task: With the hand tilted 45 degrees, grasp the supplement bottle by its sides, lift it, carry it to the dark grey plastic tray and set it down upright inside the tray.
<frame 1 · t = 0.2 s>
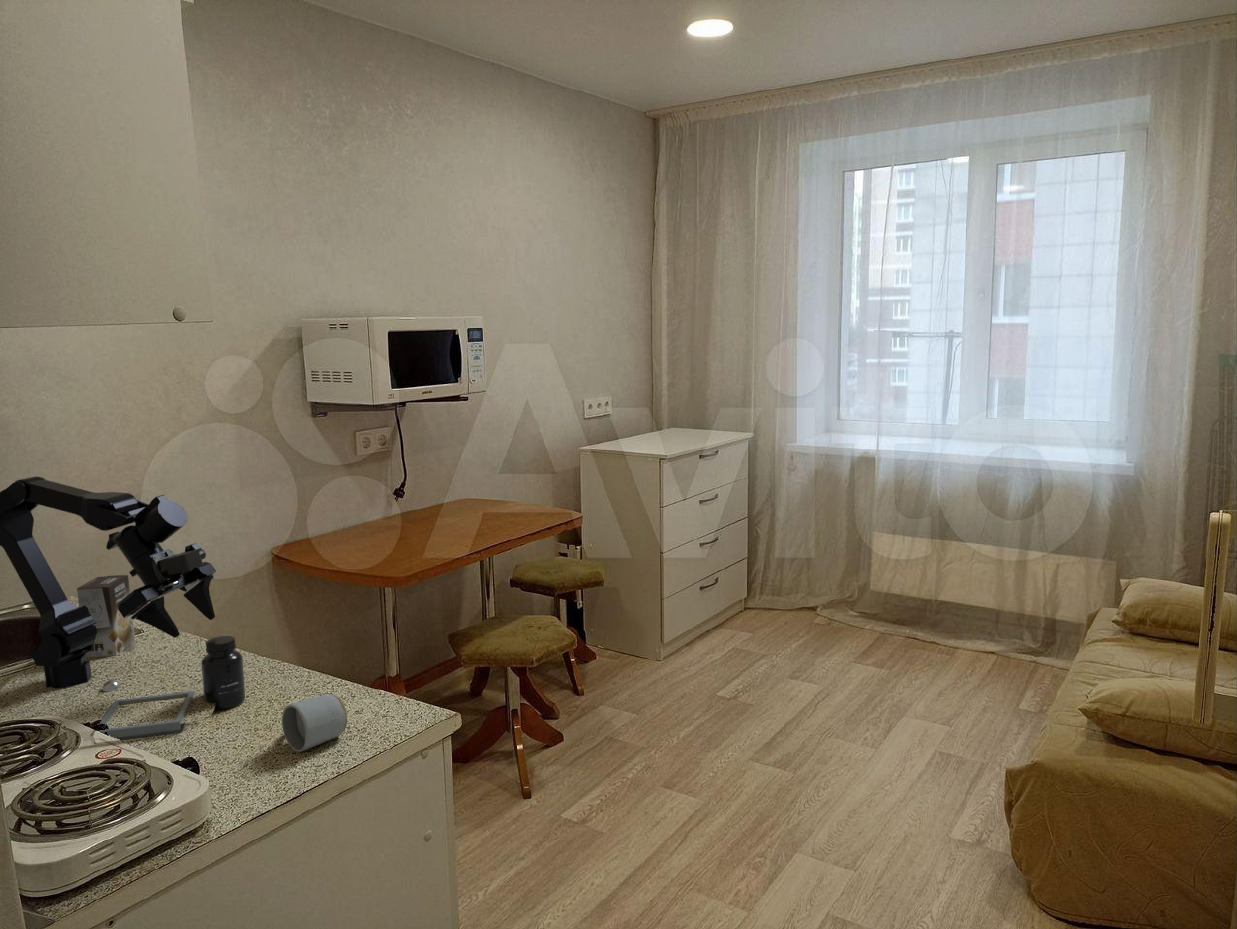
hand: (195, 627, 158), 14 cm above the worktop, tool tilted 35°, fingers open, 9 cm apart
ceramic mug: (311, 741, 145), on the worktop
coffee box: (111, 656, 184), on the worktop
tray: (147, 721, 153), on the worktop
mixing ball: (111, 688, 164), point 1 cm above the worktop
supplement bottle: (226, 704, 160), on the worktop
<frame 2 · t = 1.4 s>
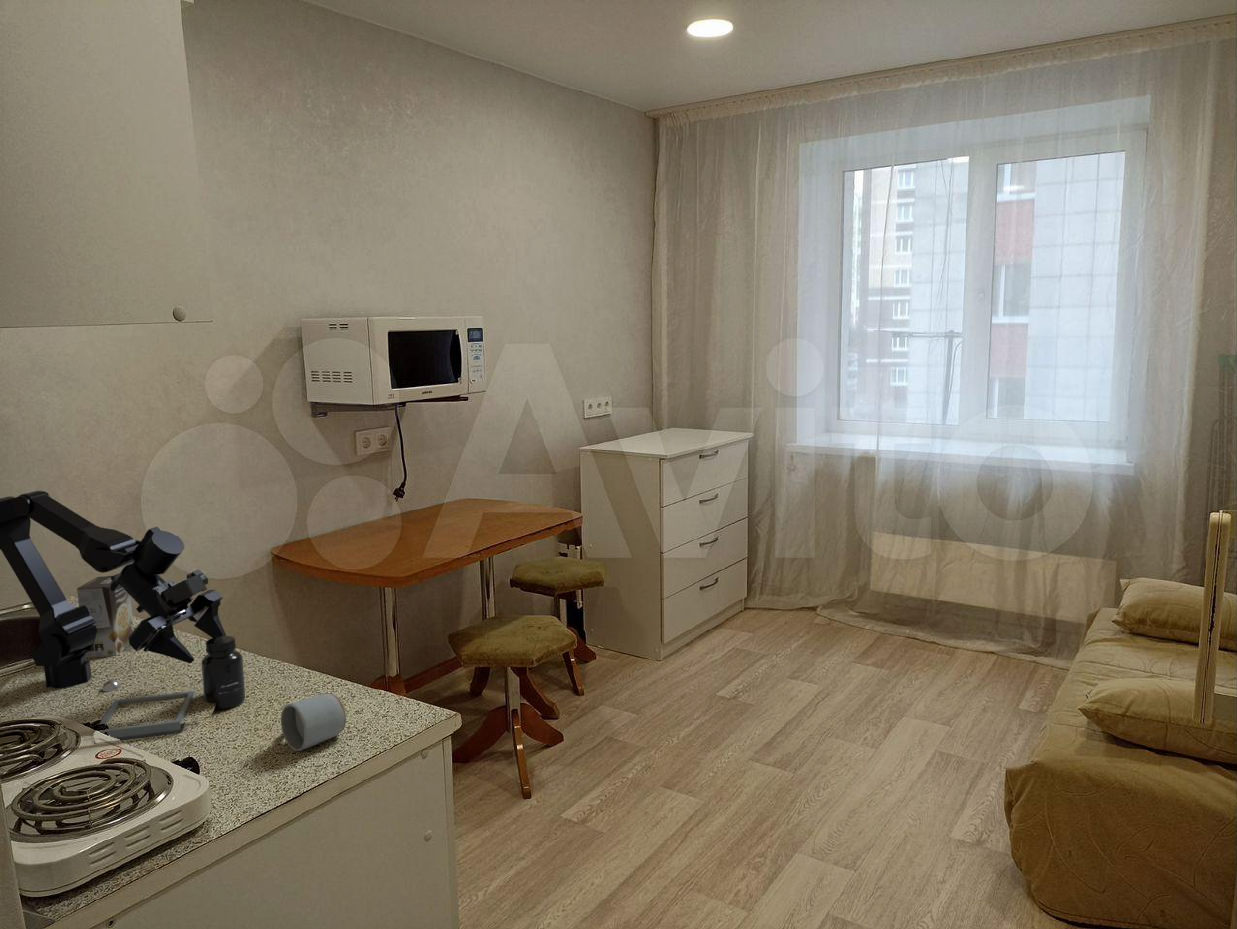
hand: (209, 651, 159), 10 cm above the worktop, tool tilted 45°, fingers open, 9 cm apart
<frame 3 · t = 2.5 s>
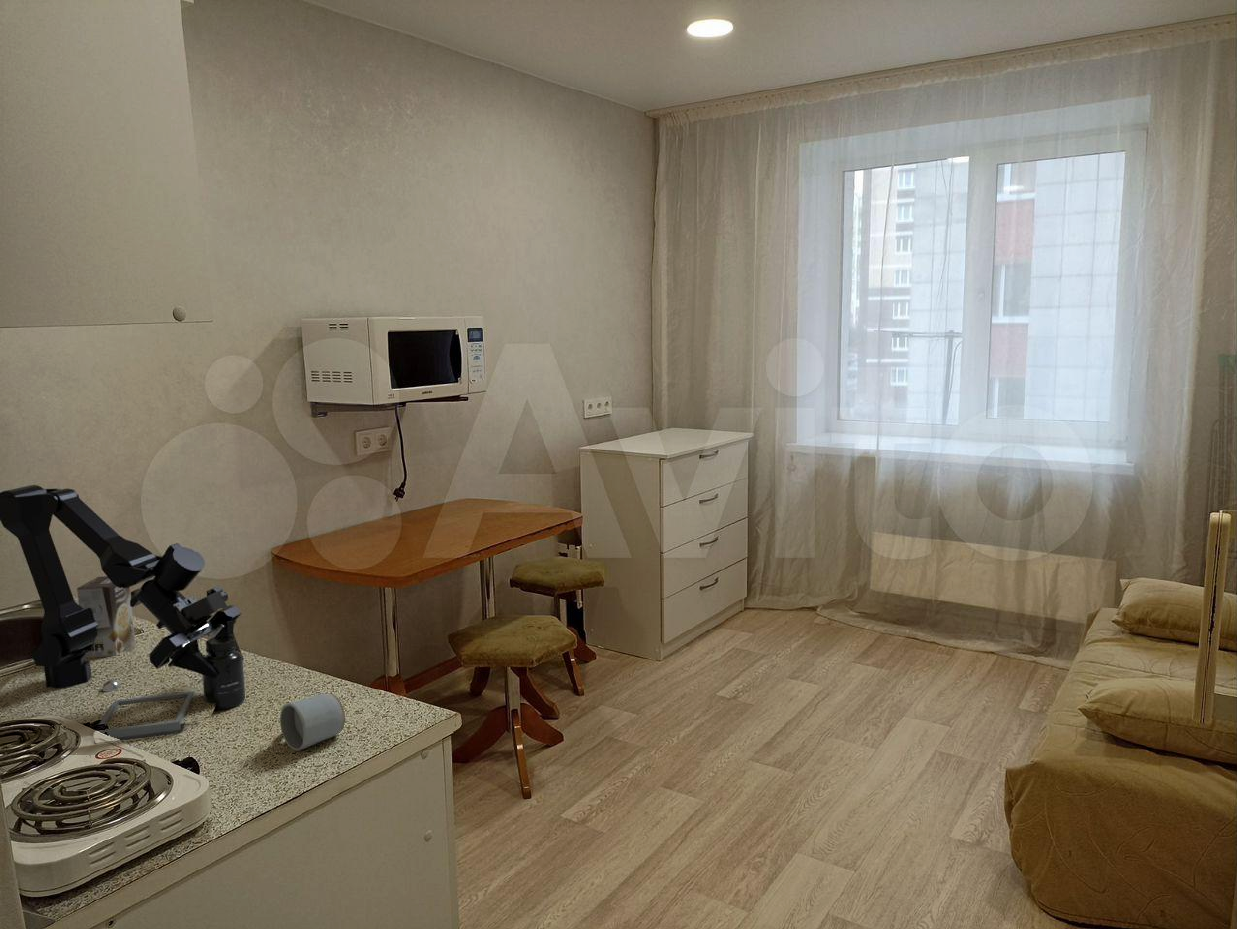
hand: (229, 668, 159), 7 cm above the worktop, tool tilted 45°, fingers closed on supplement bottle, 7 cm apart
supplement bottle: (226, 704, 160), on the worktop, touching gripper
everything else where it was.
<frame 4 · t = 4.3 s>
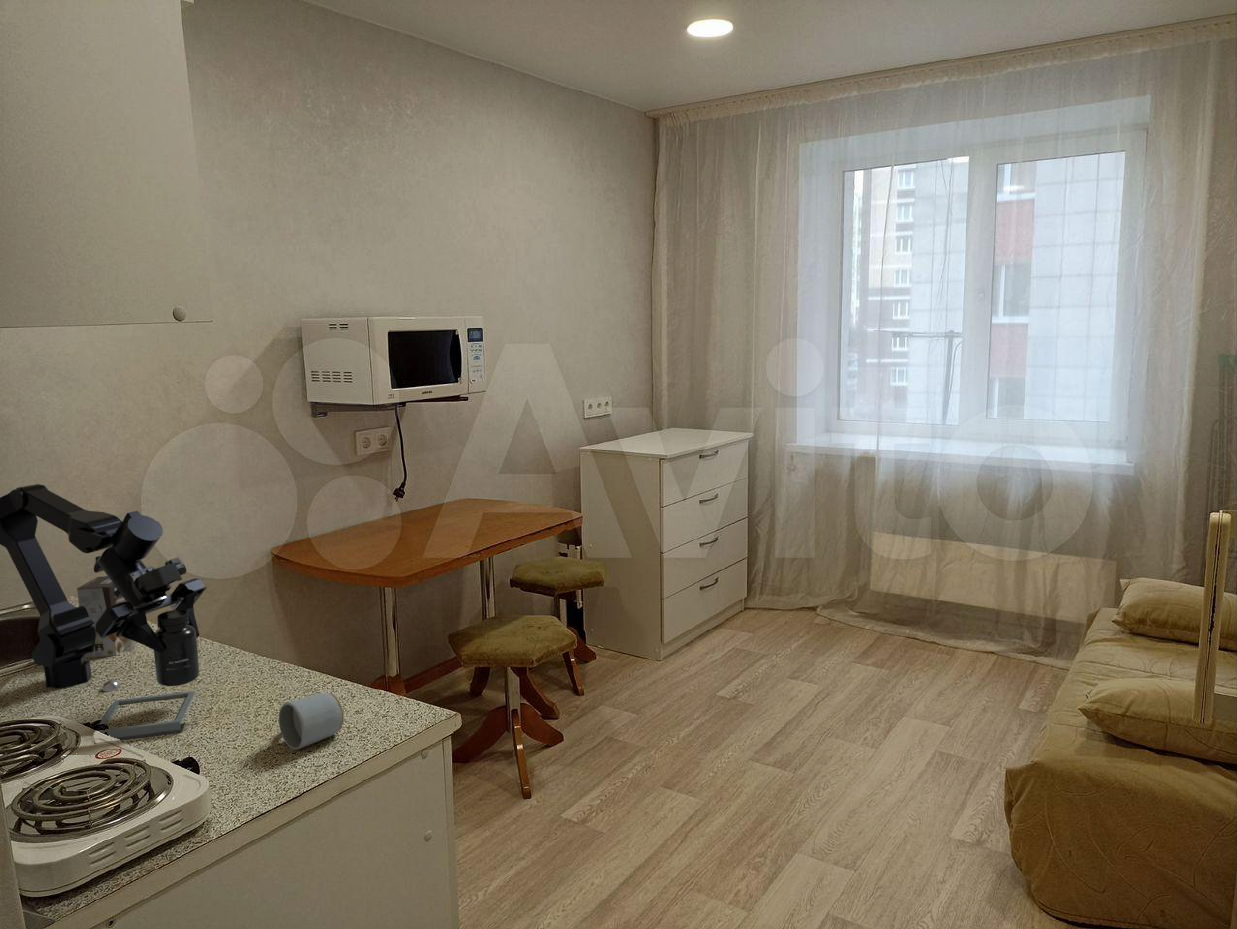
hand: (180, 644, 153), 13 cm above the worktop, tool tilted 45°, fingers closed on supplement bottle, 7 cm apart
supplement bottle: (179, 680, 155), point 6 cm above the worktop, touching gripper
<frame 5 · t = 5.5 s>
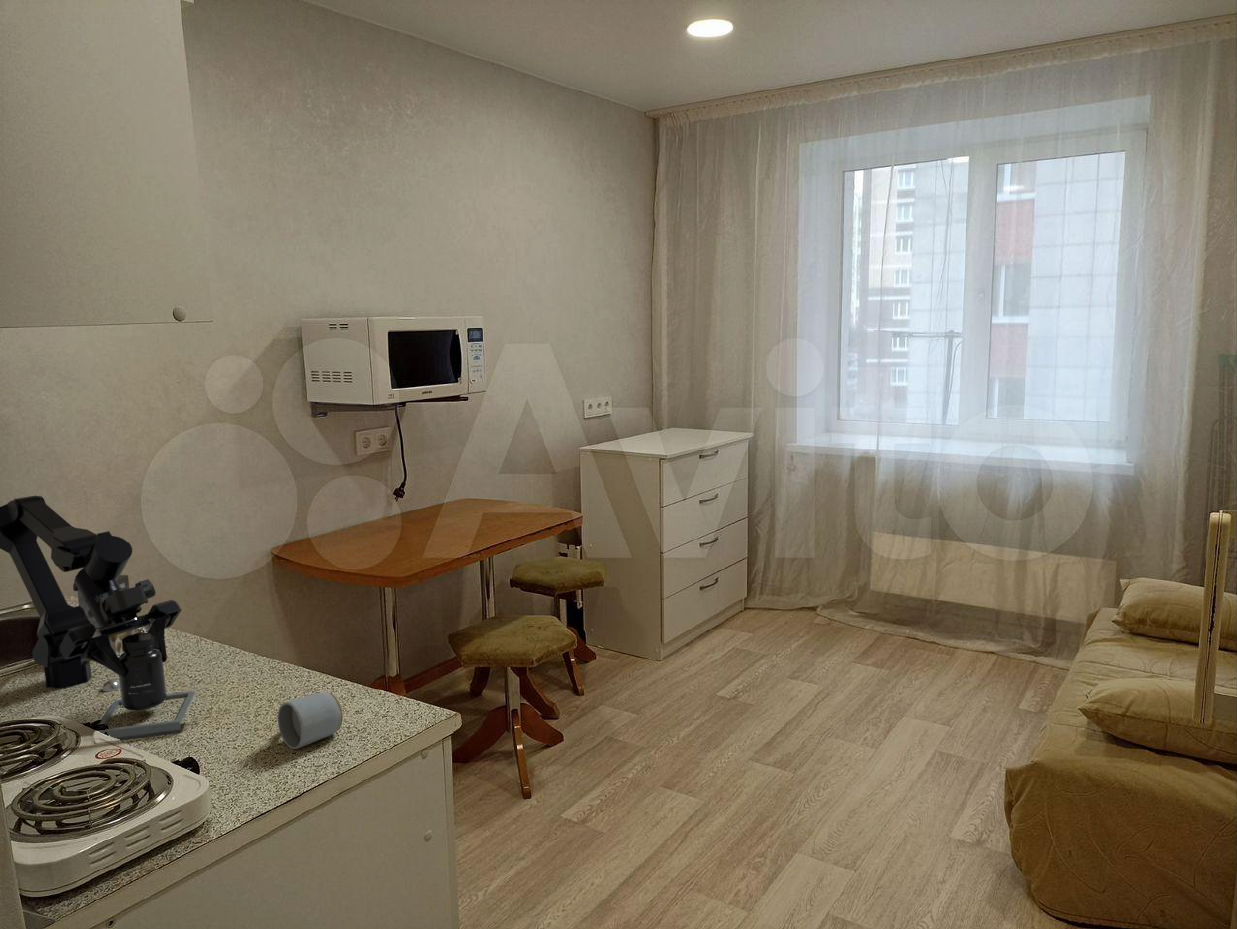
hand: (145, 668, 151), 10 cm above the worktop, tool tilted 45°, fingers closed on supplement bottle, 7 cm apart
supplement bottle: (145, 703, 153), point 3 cm above the worktop, touching gripper
when the fingers open (9 cm above the worktop, at t = 6.3 s): supplement bottle drops 1 cm, resting on tray.
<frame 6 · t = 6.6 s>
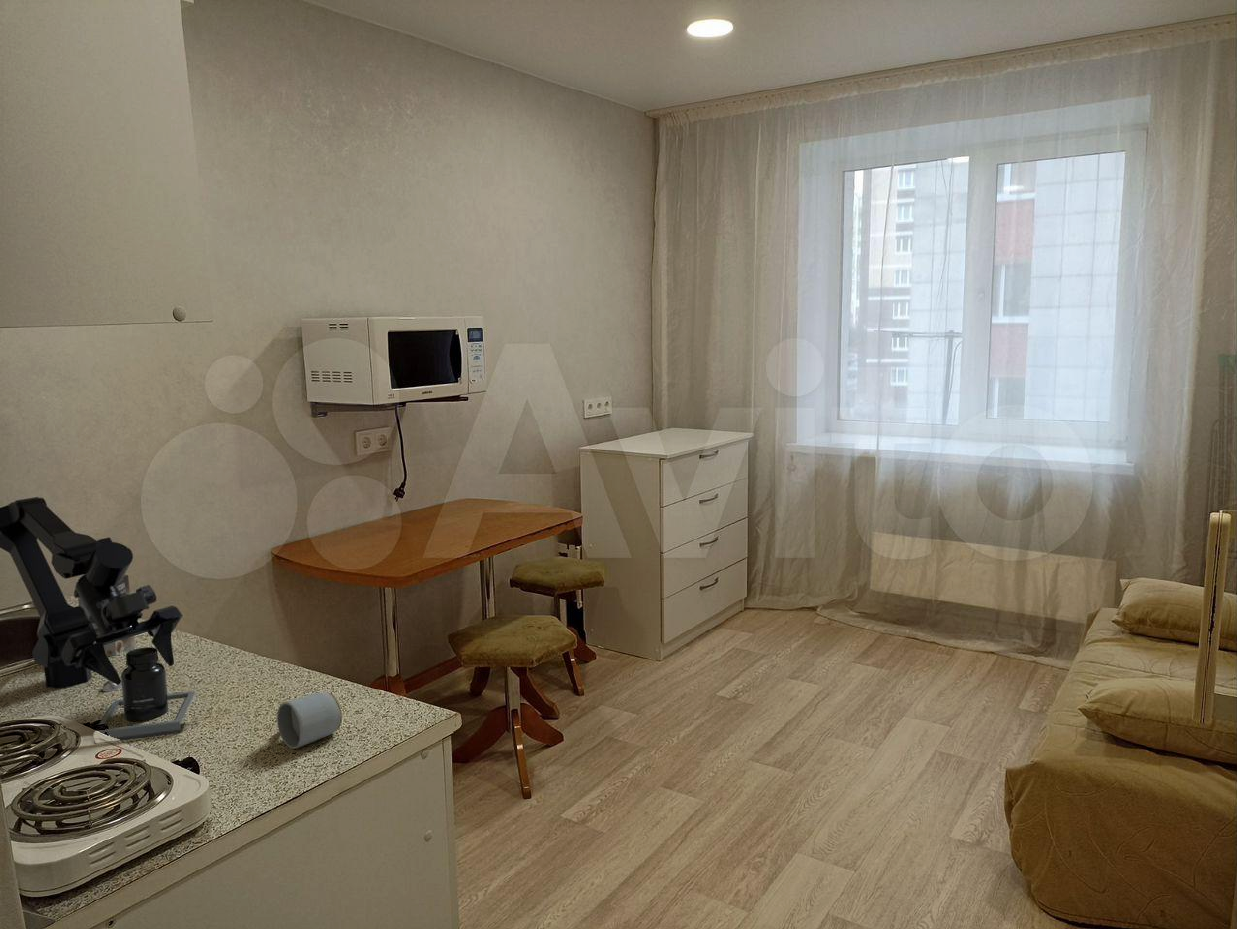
hand: (146, 673, 151), 9 cm above the worktop, tool tilted 45°, fingers open, 9 cm apart
supplement bottle: (147, 718, 153), resting on tray
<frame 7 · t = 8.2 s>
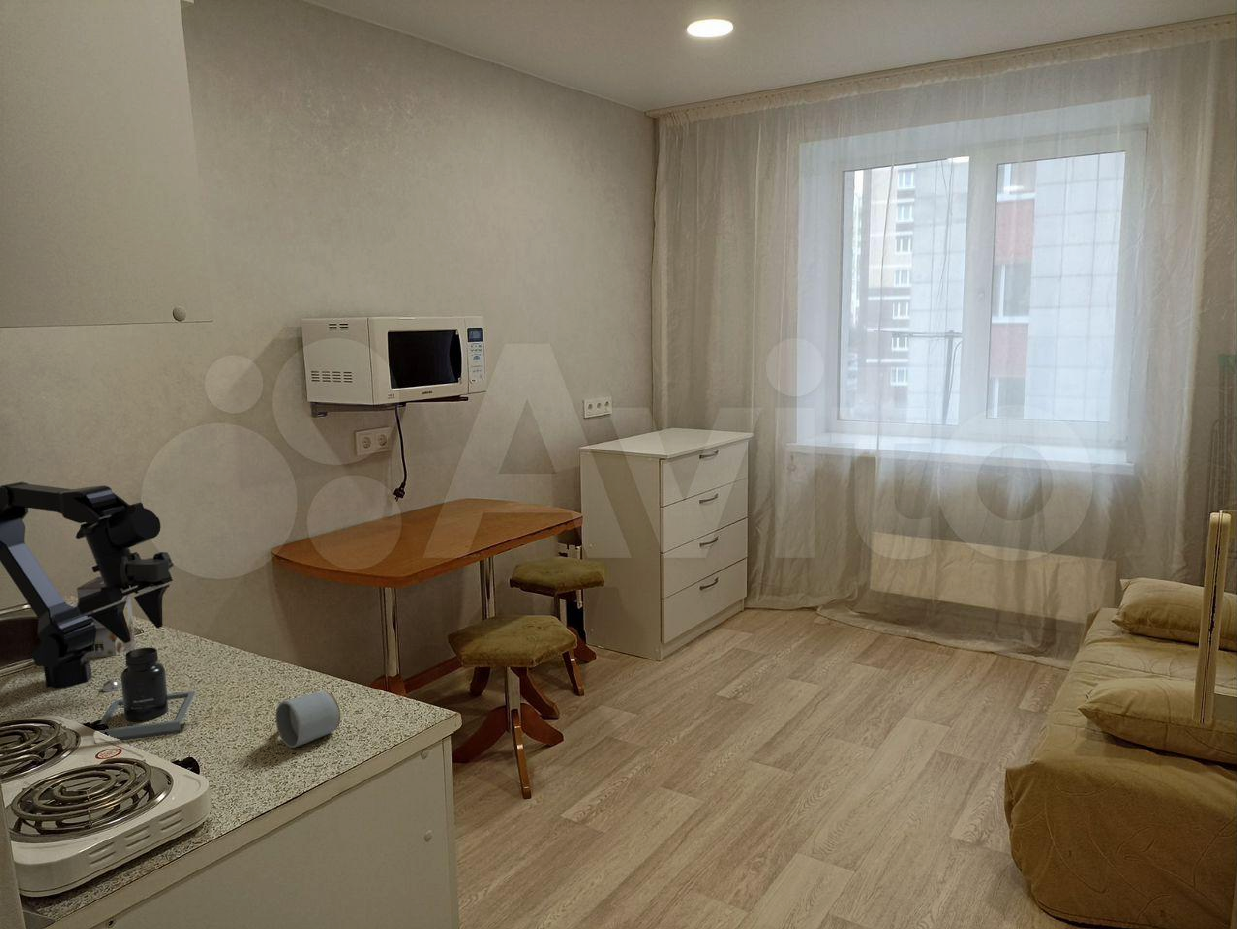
hand: (144, 634, 160), 13 cm above the worktop, tool tilted 20°, fingers open, 9 cm apart
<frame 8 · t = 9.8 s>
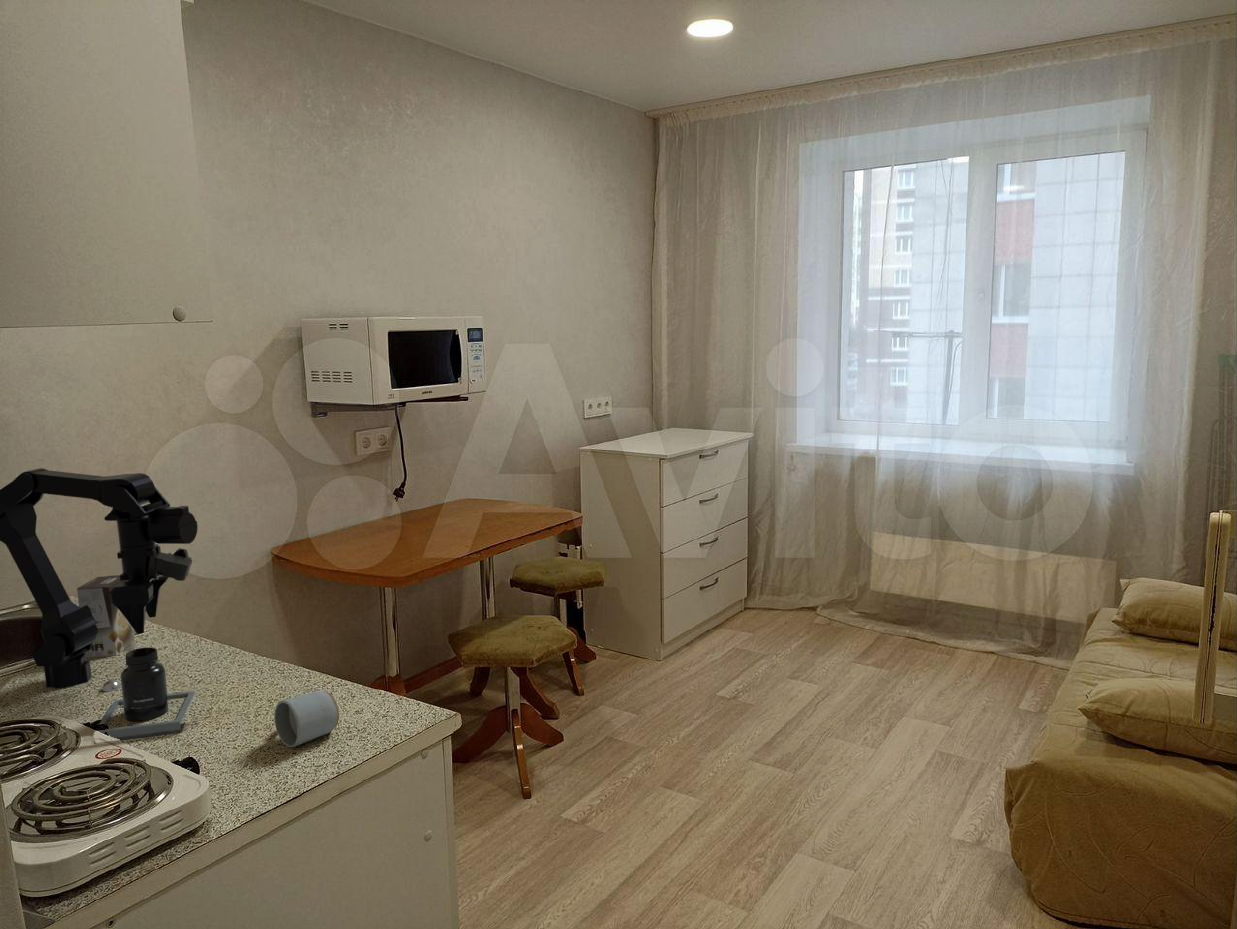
hand: (146, 624, 164), 13 cm above the worktop, tool pointing down, fingers open, 9 cm apart
at the end: supplement bottle inside the target area on the tray (0.2 cm from its centre), point 0.4 cm above the tray's base; supplement bottle tilted 0°; the gripper is holding nothing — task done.
